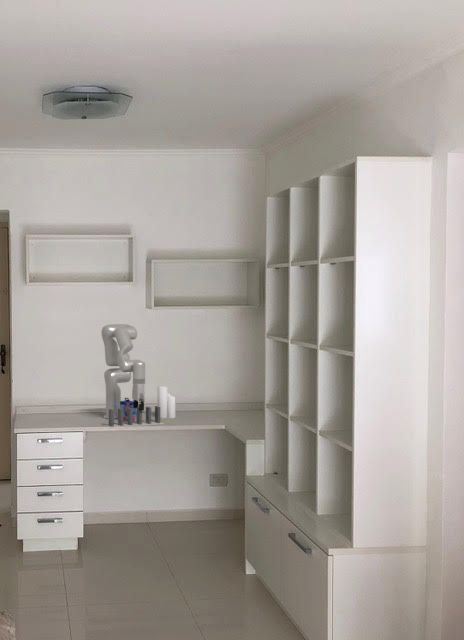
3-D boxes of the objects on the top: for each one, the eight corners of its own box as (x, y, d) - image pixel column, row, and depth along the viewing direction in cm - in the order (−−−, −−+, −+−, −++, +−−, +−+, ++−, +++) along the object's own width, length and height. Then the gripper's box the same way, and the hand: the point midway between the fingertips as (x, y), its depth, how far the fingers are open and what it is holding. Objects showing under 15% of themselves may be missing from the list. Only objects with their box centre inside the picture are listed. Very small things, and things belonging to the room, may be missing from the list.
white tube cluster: (157, 418, 605) (157, 387, 604) (157, 417, 612) (157, 386, 611) (175, 418, 606) (175, 387, 605) (175, 416, 613) (175, 386, 612)
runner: (104, 425, 576) (104, 424, 576) (157, 421, 591) (157, 421, 591) (110, 428, 565) (110, 427, 565) (165, 424, 580) (165, 423, 580)
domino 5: (148, 423, 579) (148, 407, 579) (145, 422, 584) (145, 406, 584) (151, 423, 580) (151, 407, 580) (148, 422, 585) (148, 406, 584)
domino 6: (157, 423, 582) (157, 407, 582) (154, 422, 587) (154, 406, 586) (160, 423, 583) (160, 406, 582) (157, 422, 587) (157, 406, 587)
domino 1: (111, 426, 569) (111, 410, 569) (108, 425, 573) (108, 409, 573) (113, 426, 570) (113, 409, 569) (111, 425, 574) (111, 408, 574)
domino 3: (130, 425, 574) (130, 408, 574) (127, 424, 579) (127, 407, 578) (132, 425, 575) (132, 408, 575) (129, 424, 579) (129, 407, 579)
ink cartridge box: (119, 420, 598) (119, 397, 598) (125, 419, 603) (125, 396, 602) (130, 421, 592) (130, 398, 592) (136, 420, 596) (136, 397, 596)
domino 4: (139, 424, 577) (139, 408, 576) (136, 423, 581) (136, 407, 581) (142, 424, 578) (141, 408, 577) (139, 423, 582) (138, 407, 582)
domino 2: (120, 425, 572) (120, 409, 571) (118, 424, 576) (117, 408, 576) (123, 425, 572) (123, 409, 572) (120, 424, 577) (120, 408, 576)
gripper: (128, 379, 585) (128, 407, 586) (138, 383, 569) (137, 411, 570) (139, 379, 588) (139, 406, 589) (149, 383, 573) (149, 411, 574)
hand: (138, 409), depth 580 cm, fingers open, 9 cm apart
